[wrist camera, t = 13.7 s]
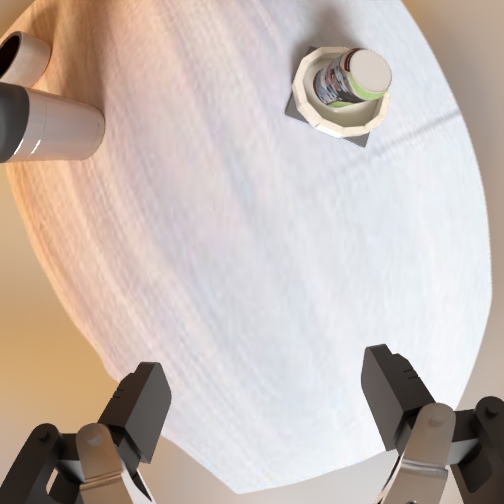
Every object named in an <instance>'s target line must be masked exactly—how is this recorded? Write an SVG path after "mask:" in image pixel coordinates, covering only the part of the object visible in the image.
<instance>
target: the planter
mask: <svg viewBox="0 0 504 504" xmlns="http://www.w3.org/2000/svg"><path fill="white" fill-rule="evenodd" d="M50 54H51V48H50V45H49V44H48V43H47V42H45V41H43V40H40V39H38V38H36V37H33V36H31V35H28V34H26V33H24V32H21V31H15V32H13V33H11V34H10V35H9V36H8V37H7V38H6V39H5V40H4V41H3V42H2V43H1V45H0V82H4V83H9V84H15V85H20V86H24V87H28V88H30V87H31V86H33V85H34V84H35V83H36V82H37V81H38V80H39V78H40V77H41V76H42V74H43V72H44V71H45V69H46V67H47V65H48V62H49V59H50Z"/></svg>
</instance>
